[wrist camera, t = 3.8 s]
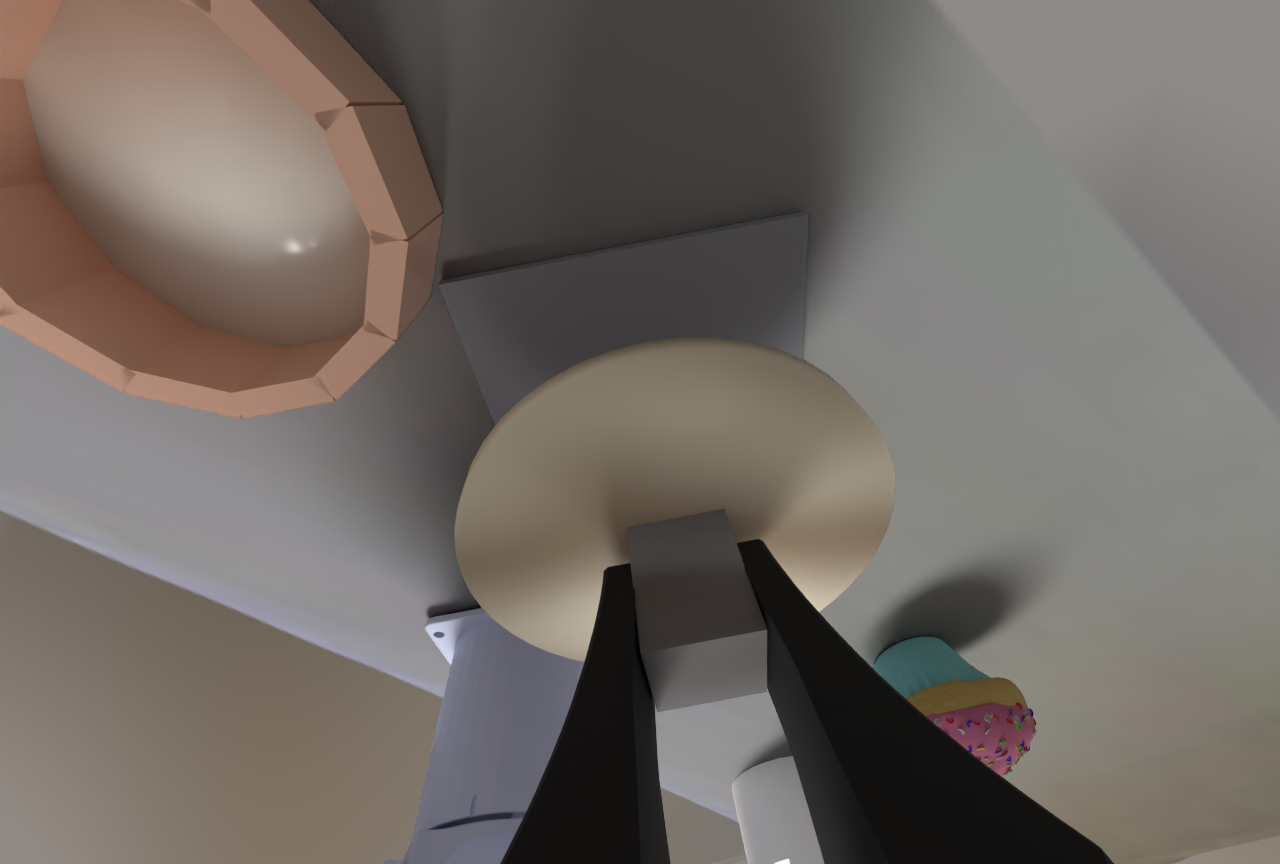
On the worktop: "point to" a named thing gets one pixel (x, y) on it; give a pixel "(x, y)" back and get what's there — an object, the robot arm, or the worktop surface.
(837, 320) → the worktop surface
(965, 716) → the cupcake
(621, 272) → the mat
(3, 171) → the bowl
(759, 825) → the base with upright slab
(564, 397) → the lid
